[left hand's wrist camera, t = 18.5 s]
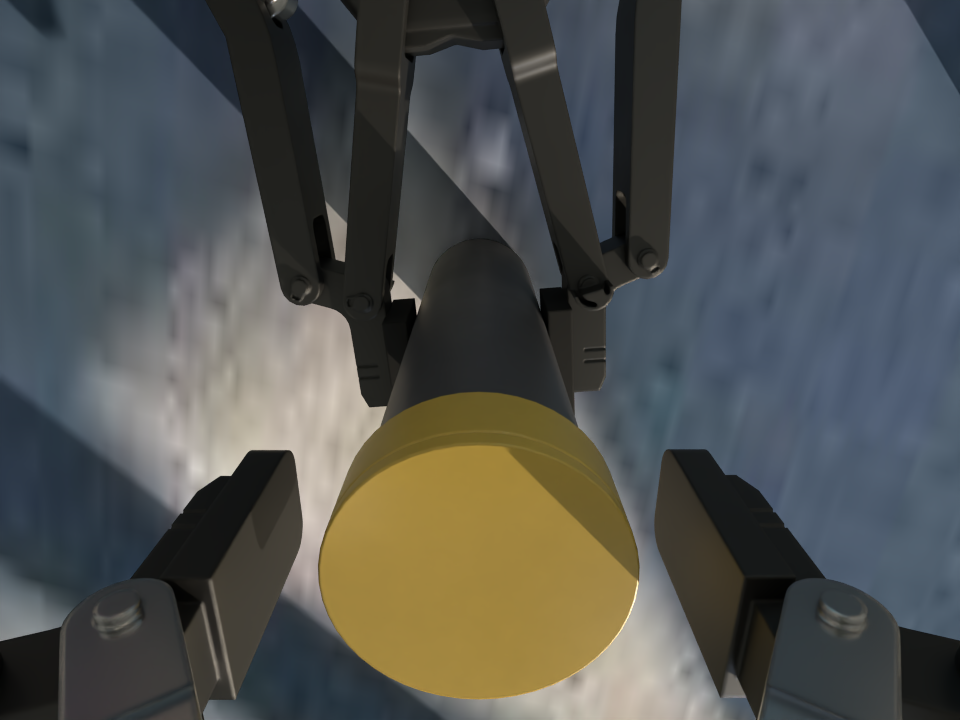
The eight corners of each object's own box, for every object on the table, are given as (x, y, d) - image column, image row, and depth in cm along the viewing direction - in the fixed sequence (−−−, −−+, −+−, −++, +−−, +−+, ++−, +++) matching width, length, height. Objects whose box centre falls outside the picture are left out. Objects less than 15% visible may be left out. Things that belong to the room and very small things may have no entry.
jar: (496, 355, 27) (520, 685, 11) (410, 307, 26) (302, 589, 10) (550, 272, 26) (665, 513, 10) (460, 218, 25) (426, 386, 9)
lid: (608, 373, 10) (634, 424, 8) (621, 605, 12) (644, 685, 10) (314, 408, 10) (281, 463, 9) (371, 631, 12) (354, 713, 10)
